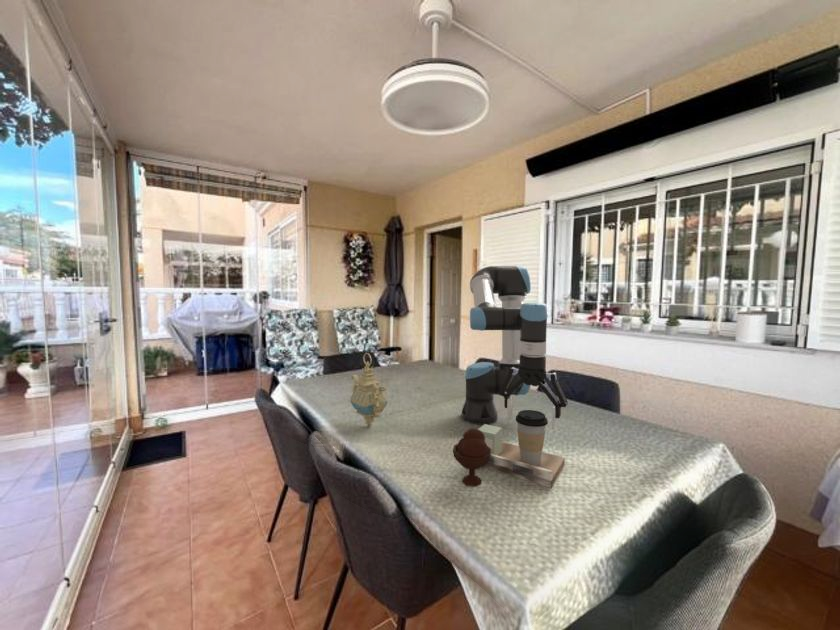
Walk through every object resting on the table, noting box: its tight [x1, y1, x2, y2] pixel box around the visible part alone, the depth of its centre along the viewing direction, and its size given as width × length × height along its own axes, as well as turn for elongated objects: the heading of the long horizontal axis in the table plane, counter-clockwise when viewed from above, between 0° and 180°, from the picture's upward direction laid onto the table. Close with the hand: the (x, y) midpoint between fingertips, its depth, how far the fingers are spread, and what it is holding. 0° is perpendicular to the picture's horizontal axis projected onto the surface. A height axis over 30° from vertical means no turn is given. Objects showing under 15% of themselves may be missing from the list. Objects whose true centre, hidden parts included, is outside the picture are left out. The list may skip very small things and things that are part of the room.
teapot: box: [349, 352, 388, 428], centre depth 141 cm, size 24×12×30 cm, turn 39°
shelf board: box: [482, 441, 566, 489], centre depth 112 cm, size 24×16×4 cm
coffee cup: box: [514, 409, 549, 466], centre depth 109 cm, size 9×9×15 cm
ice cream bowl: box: [452, 428, 491, 487], centre depth 102 cm, size 11×11×15 cm
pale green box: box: [477, 424, 503, 455], centre depth 115 cm, size 6×6×8 cm
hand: (531, 423), depth 109 cm, fingers open, 13 cm apart
